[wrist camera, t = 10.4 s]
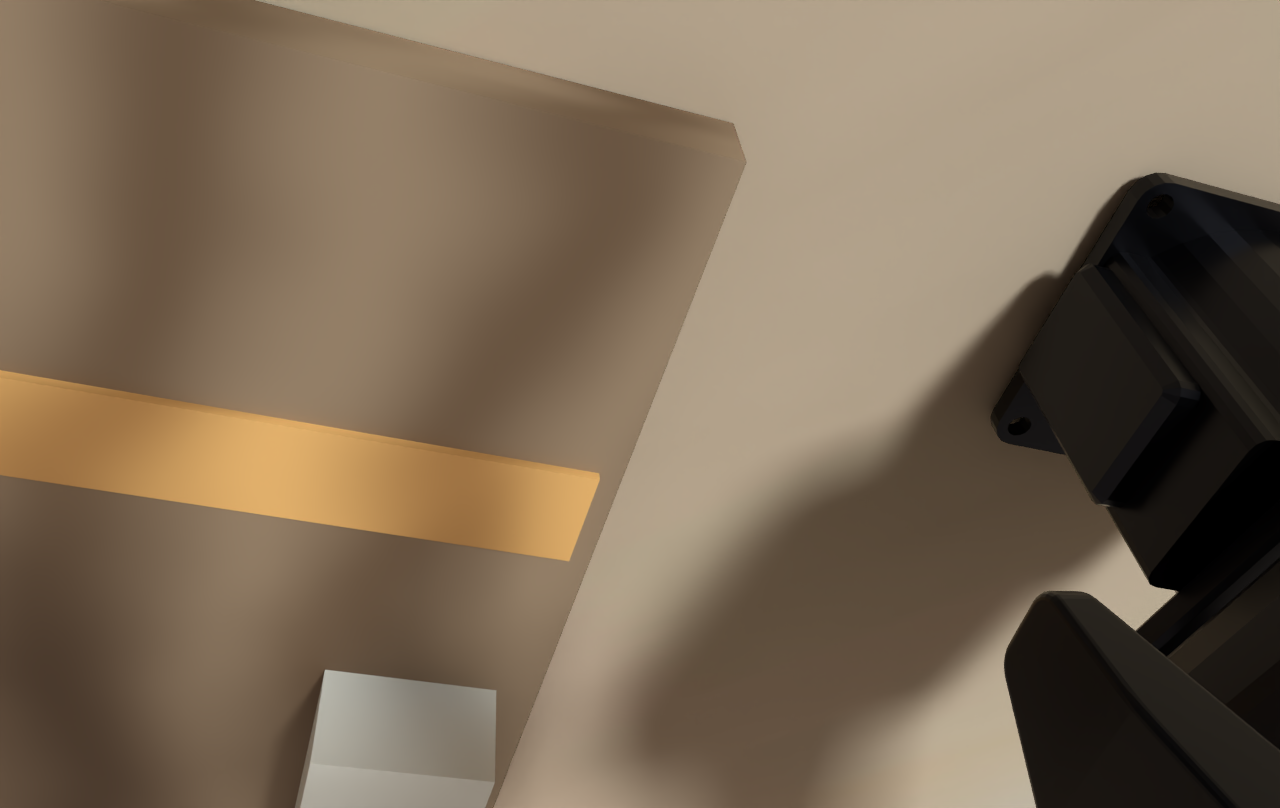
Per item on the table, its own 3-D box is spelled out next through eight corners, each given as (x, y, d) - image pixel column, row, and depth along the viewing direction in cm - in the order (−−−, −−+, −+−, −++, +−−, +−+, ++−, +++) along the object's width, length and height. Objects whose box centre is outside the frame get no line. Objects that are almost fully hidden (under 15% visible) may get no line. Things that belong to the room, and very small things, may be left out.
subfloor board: (733, 123, 21) (748, 167, 19) (472, 814, 33) (471, 869, 32) (-639, -230, 16) (-745, -203, 14) (-335, 738, 28) (-376, 799, 27)
